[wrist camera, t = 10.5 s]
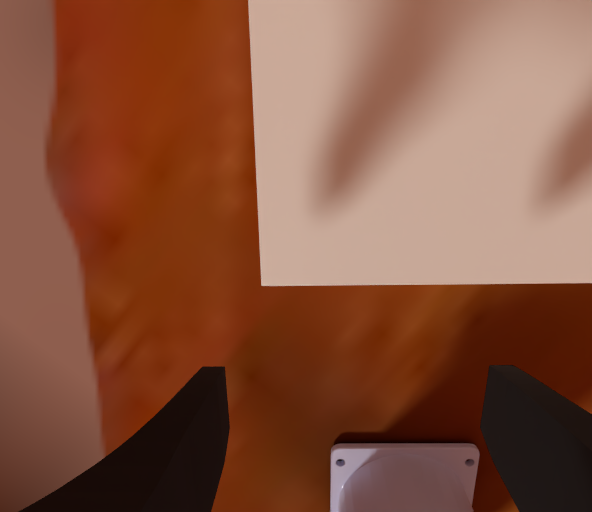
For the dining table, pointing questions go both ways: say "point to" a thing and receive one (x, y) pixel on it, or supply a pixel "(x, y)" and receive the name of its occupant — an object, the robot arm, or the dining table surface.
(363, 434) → the dining table surface
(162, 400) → the dining table surface
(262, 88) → the pale beige flat-sided block
